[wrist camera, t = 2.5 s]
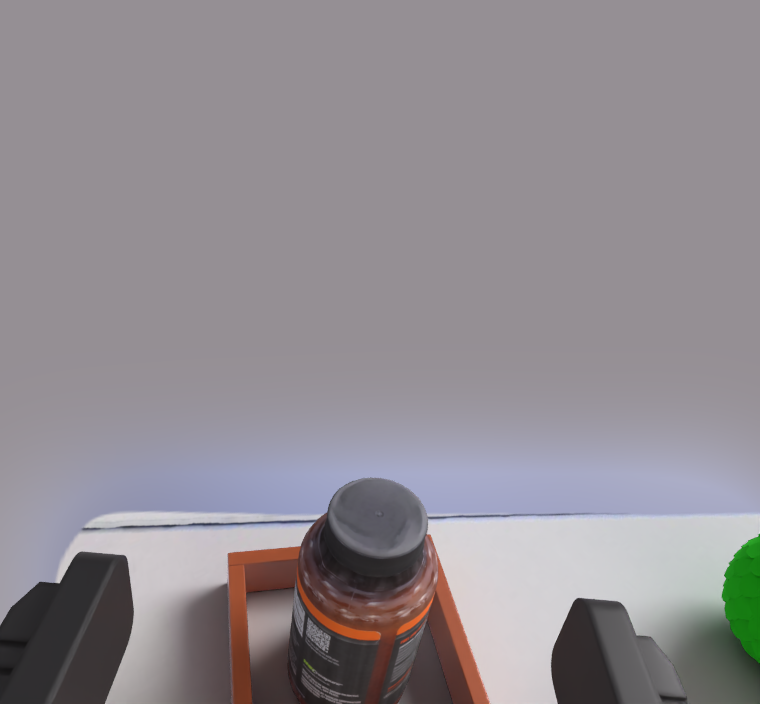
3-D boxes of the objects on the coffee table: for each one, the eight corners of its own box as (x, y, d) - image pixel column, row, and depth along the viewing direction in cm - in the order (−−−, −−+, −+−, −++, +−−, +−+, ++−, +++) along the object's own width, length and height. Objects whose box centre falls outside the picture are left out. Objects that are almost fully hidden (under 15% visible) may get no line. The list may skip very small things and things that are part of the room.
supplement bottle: (411, 625, 33) (458, 474, 26) (400, 746, 28) (454, 596, 21) (301, 602, 33) (322, 446, 26) (270, 718, 28) (286, 561, 21)
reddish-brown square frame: (234, 826, 24) (236, 800, 23) (227, 582, 33) (227, 552, 32) (491, 772, 27) (506, 747, 26) (422, 561, 36) (430, 533, 35)
